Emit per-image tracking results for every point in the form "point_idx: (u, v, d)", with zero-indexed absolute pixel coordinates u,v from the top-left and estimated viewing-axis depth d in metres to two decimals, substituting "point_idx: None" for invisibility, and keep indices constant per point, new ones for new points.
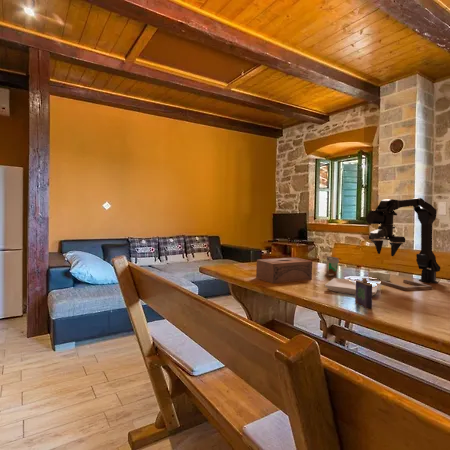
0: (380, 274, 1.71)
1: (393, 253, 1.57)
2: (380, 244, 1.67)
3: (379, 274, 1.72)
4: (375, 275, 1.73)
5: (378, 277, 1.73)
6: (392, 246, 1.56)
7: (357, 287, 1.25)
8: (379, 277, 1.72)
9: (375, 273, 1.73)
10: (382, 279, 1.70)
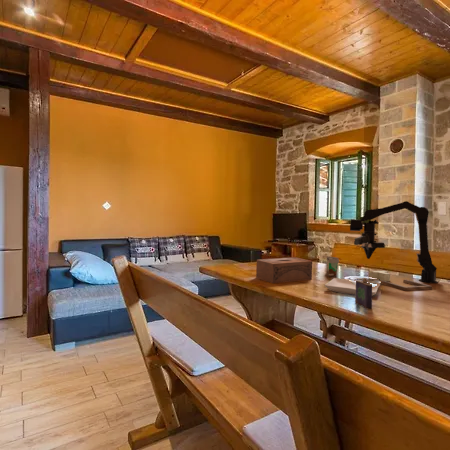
0: (380, 274, 1.71)
1: (369, 256, 1.82)
2: None
3: (379, 274, 1.72)
4: (375, 275, 1.73)
5: (378, 277, 1.73)
6: (368, 250, 1.81)
7: (357, 287, 1.25)
8: (379, 277, 1.72)
9: (375, 273, 1.73)
10: (382, 279, 1.70)
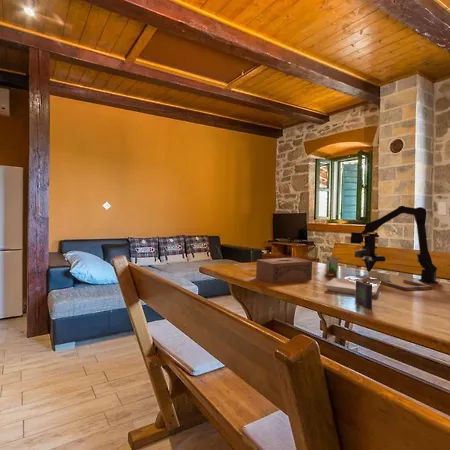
0: (380, 274, 1.71)
1: (369, 269, 1.82)
2: None
3: (379, 274, 1.72)
4: (375, 275, 1.73)
5: (378, 277, 1.73)
6: (368, 263, 1.81)
7: (357, 287, 1.25)
8: (379, 277, 1.72)
9: (375, 273, 1.73)
10: (382, 279, 1.70)
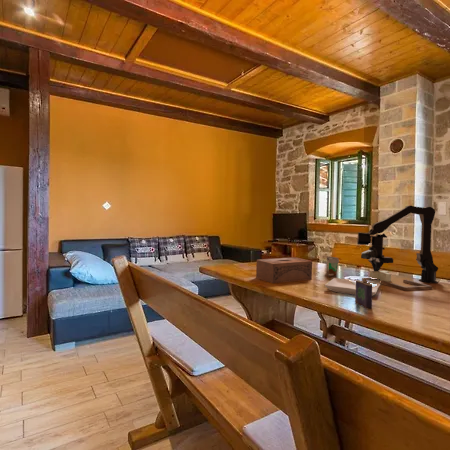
0: (381, 274, 1.71)
1: None
2: None
3: (380, 274, 1.71)
4: (376, 275, 1.72)
5: (379, 277, 1.72)
6: (375, 265, 1.75)
7: (357, 287, 1.25)
8: (380, 277, 1.71)
9: (376, 273, 1.72)
10: (383, 279, 1.69)
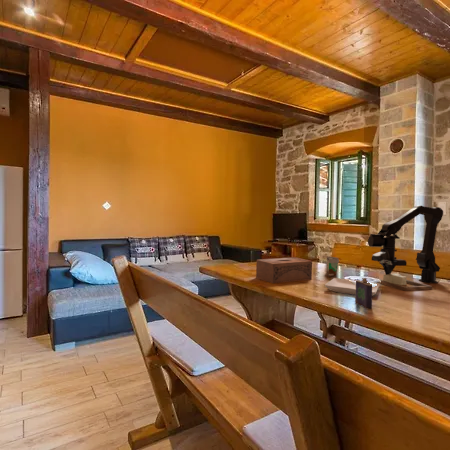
0: (396, 278, 1.62)
1: None
2: None
3: (395, 278, 1.63)
4: (390, 279, 1.64)
5: (393, 281, 1.64)
6: (387, 267, 1.67)
7: (357, 287, 1.25)
8: (395, 281, 1.63)
9: (390, 277, 1.64)
10: (399, 283, 1.61)
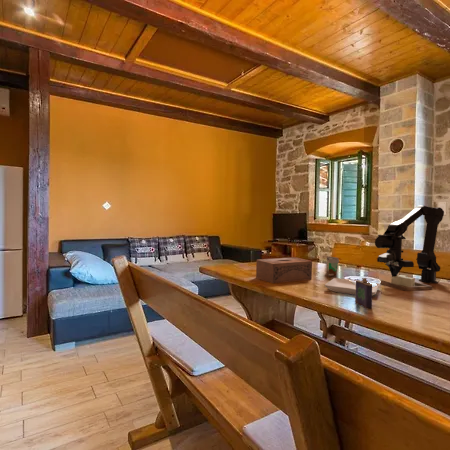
0: (405, 279, 1.59)
1: (395, 275, 1.64)
2: None
3: (403, 279, 1.59)
4: (399, 281, 1.59)
5: (401, 283, 1.60)
6: (394, 269, 1.63)
7: (357, 287, 1.25)
8: (403, 283, 1.59)
9: (399, 278, 1.59)
10: (408, 285, 1.57)
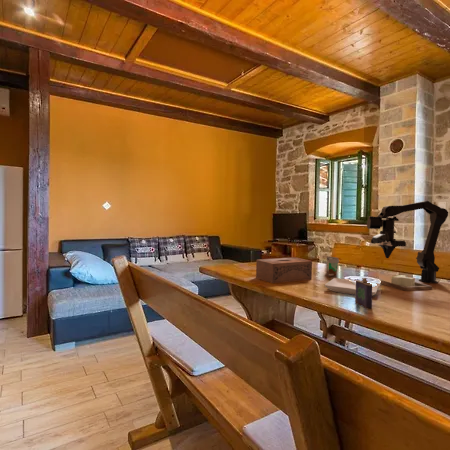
0: (405, 279, 1.59)
1: (388, 255, 1.71)
2: None
3: (403, 279, 1.59)
4: (399, 281, 1.59)
5: (402, 283, 1.60)
6: (387, 249, 1.70)
7: (357, 287, 1.25)
8: (403, 283, 1.59)
9: (399, 278, 1.59)
10: (408, 285, 1.57)
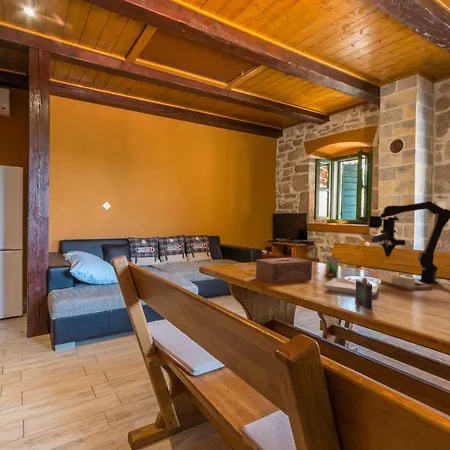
0: (405, 279, 1.59)
1: (388, 254, 1.76)
2: None
3: (403, 279, 1.59)
4: (399, 281, 1.59)
5: (402, 283, 1.60)
6: (387, 247, 1.75)
7: (357, 287, 1.25)
8: (403, 283, 1.59)
9: (399, 278, 1.59)
10: (408, 285, 1.57)
